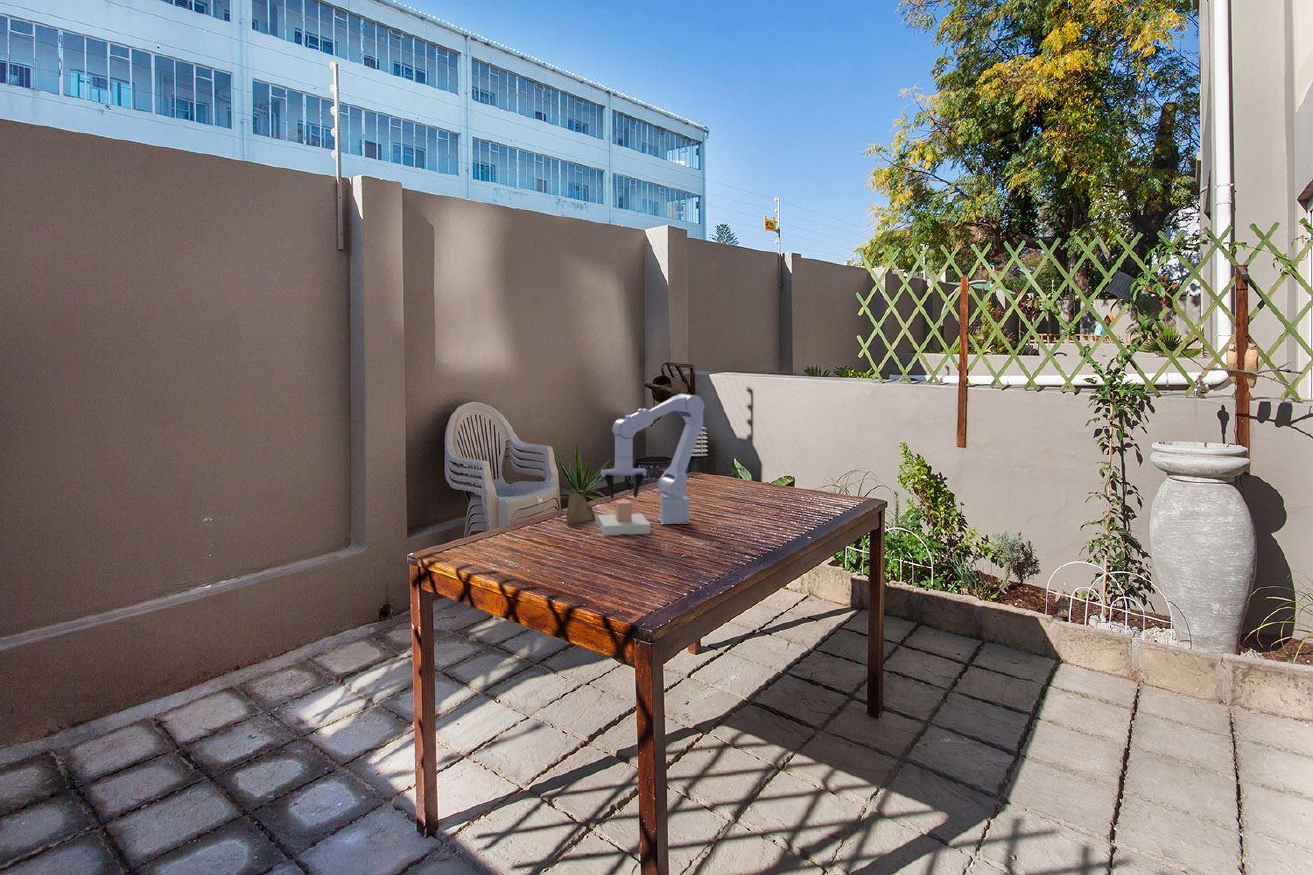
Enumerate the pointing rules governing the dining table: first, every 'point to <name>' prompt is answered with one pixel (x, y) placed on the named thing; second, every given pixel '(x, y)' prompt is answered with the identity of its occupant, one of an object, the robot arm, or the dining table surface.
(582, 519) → the rock
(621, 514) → the terracotta block
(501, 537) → the dining table surface
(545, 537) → the dining table surface
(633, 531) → the base plinth
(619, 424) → the robot arm
